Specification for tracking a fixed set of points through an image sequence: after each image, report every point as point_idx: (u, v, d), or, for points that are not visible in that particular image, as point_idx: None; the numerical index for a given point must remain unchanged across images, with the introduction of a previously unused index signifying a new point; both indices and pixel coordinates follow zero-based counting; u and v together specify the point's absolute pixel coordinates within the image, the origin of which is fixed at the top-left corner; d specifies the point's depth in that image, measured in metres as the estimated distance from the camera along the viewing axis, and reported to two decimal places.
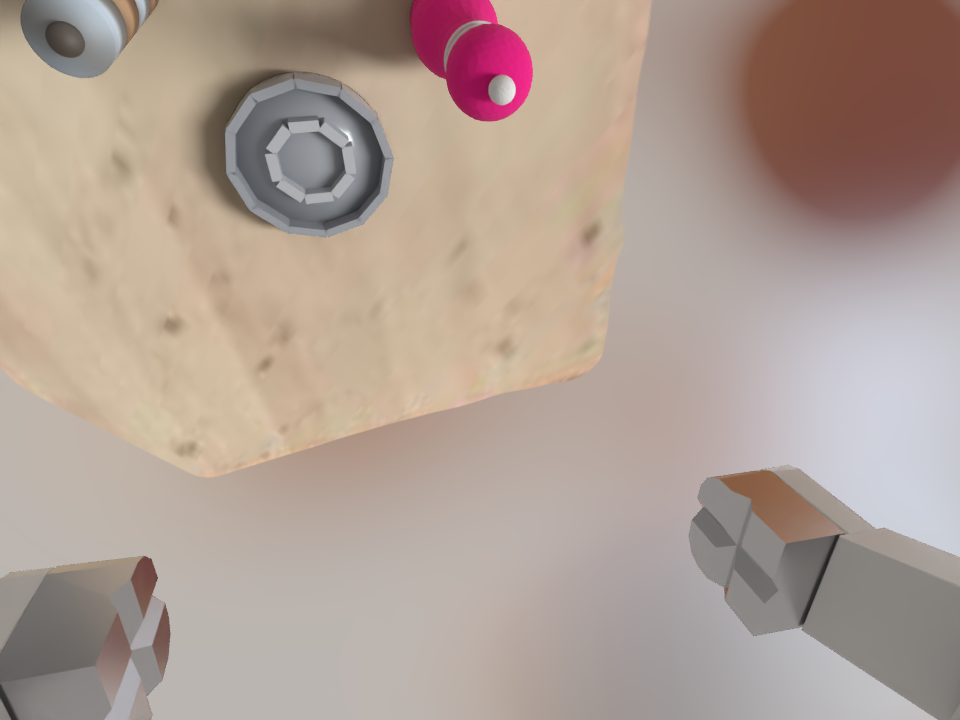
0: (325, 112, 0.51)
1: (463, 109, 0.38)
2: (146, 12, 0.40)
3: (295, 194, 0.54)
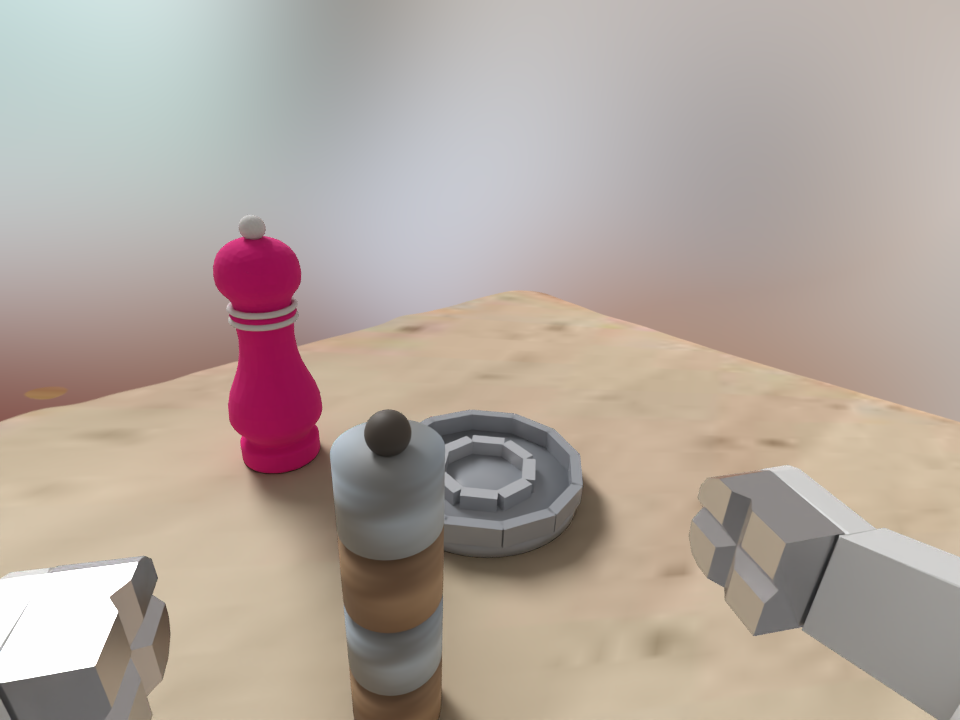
0: None
1: (291, 261, 0.40)
2: None
3: (529, 465, 0.43)
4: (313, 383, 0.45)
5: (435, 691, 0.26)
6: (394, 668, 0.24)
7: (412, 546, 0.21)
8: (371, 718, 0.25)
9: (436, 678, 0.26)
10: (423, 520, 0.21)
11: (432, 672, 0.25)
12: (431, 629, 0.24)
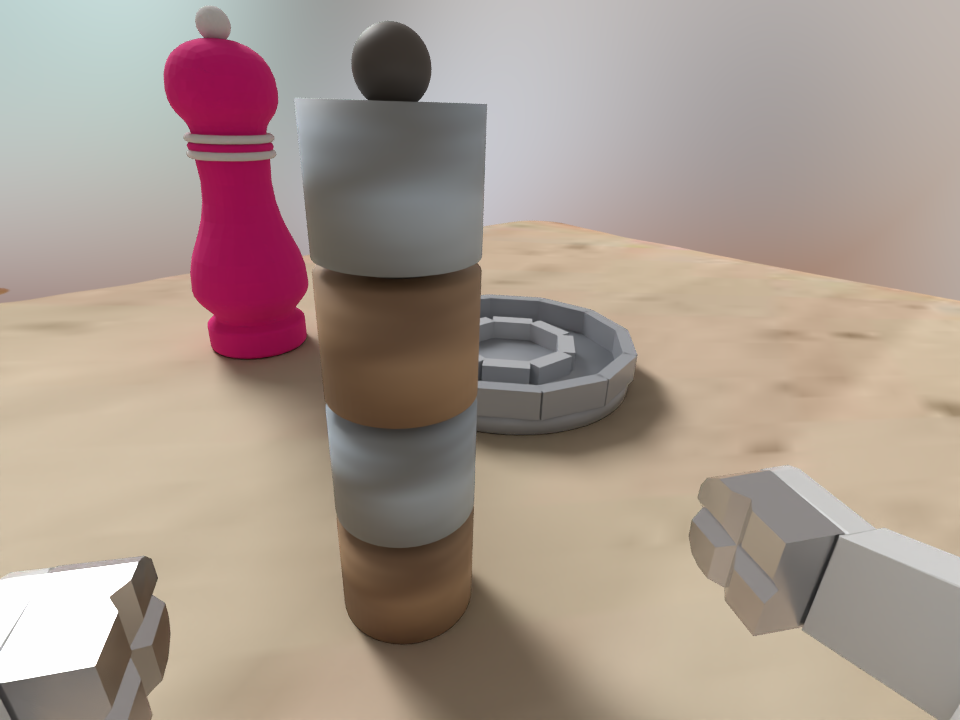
0: None
1: (264, 70, 0.31)
2: None
3: (566, 340, 0.35)
4: (296, 248, 0.36)
5: (465, 555, 0.18)
6: (405, 497, 0.15)
7: (435, 255, 0.13)
8: (371, 591, 0.17)
9: (467, 534, 0.17)
10: (453, 207, 0.12)
11: (461, 520, 0.17)
12: (462, 440, 0.15)
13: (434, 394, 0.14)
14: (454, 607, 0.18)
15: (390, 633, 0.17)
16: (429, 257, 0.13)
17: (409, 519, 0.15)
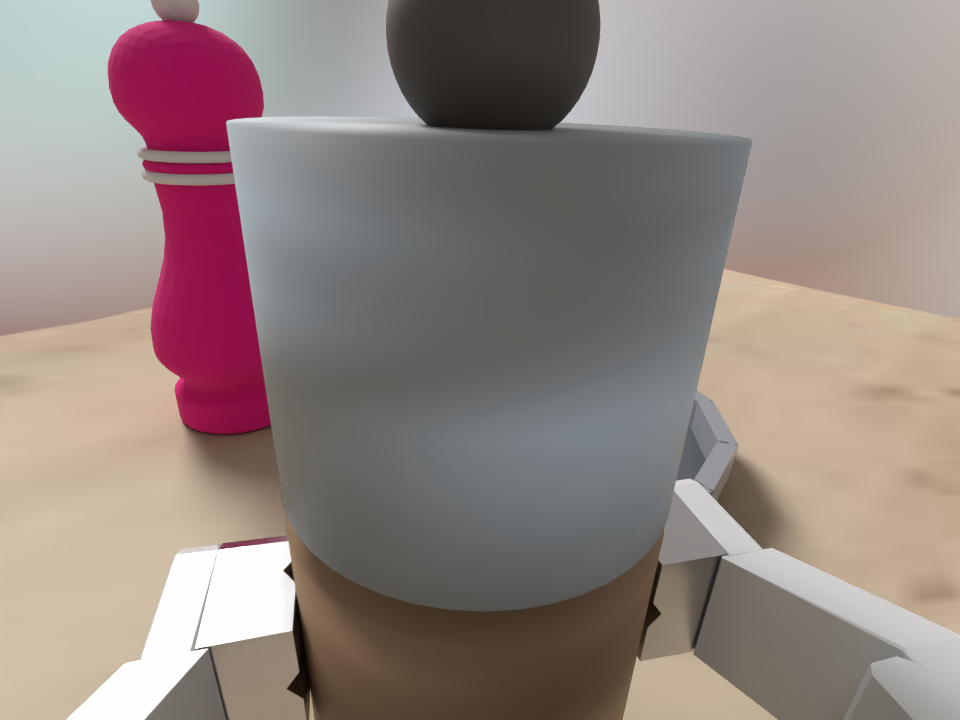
0: None
1: (244, 64, 0.23)
2: None
3: None
4: None
5: None
6: None
7: (609, 545, 0.05)
8: None
9: None
10: (666, 423, 0.04)
11: None
12: None
13: None
14: None
15: None
16: (595, 553, 0.05)
17: None
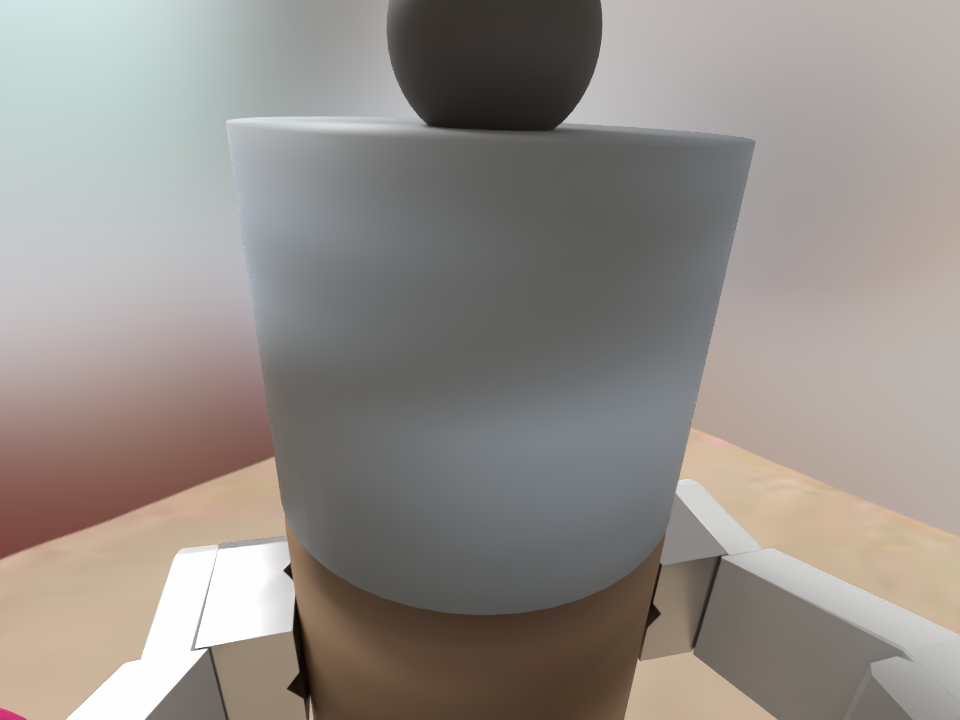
0: None
1: None
2: None
3: None
4: None
5: None
6: None
7: (611, 549, 0.05)
8: None
9: None
10: (668, 426, 0.04)
11: None
12: None
13: None
14: None
15: None
16: (597, 557, 0.05)
17: None
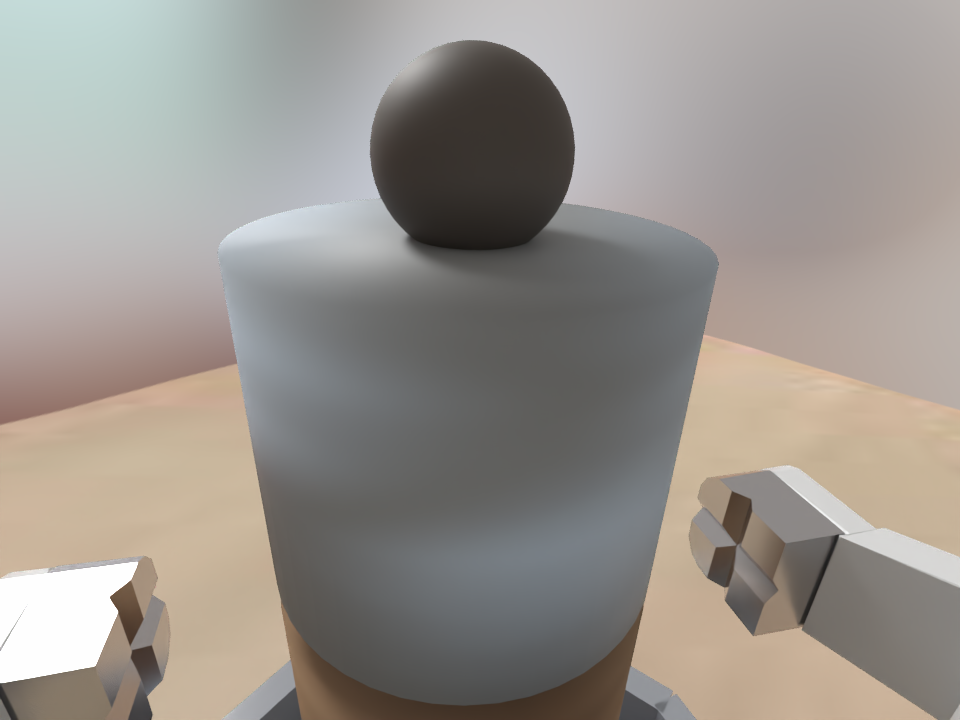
0: None
1: None
2: None
3: None
4: None
5: None
6: None
7: (585, 641, 0.05)
8: None
9: None
10: (638, 529, 0.05)
11: None
12: None
13: None
14: None
15: None
16: (572, 649, 0.05)
17: None
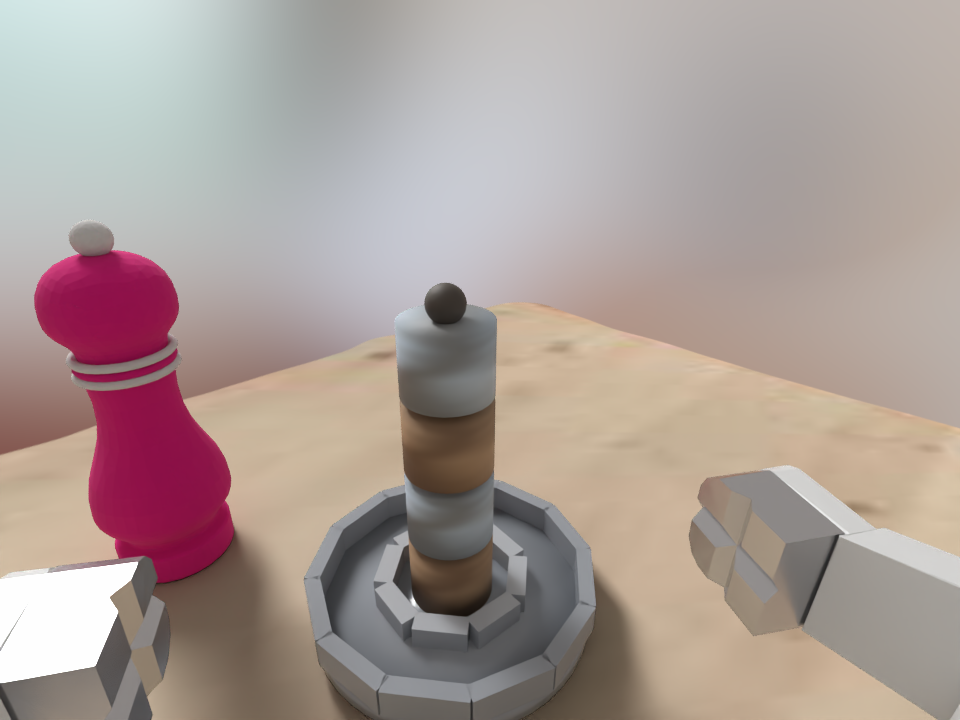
0: (366, 599, 0.30)
1: (153, 286, 0.27)
2: None
3: (518, 567, 0.30)
4: (212, 454, 0.32)
5: (488, 564, 0.28)
6: (453, 531, 0.26)
7: (470, 404, 0.23)
8: (431, 586, 0.28)
9: (489, 551, 0.28)
10: (480, 380, 0.23)
11: (485, 542, 0.28)
12: (485, 497, 0.26)
13: (470, 474, 0.25)
14: (482, 596, 0.29)
15: (443, 612, 0.28)
16: (467, 406, 0.23)
17: (455, 543, 0.26)
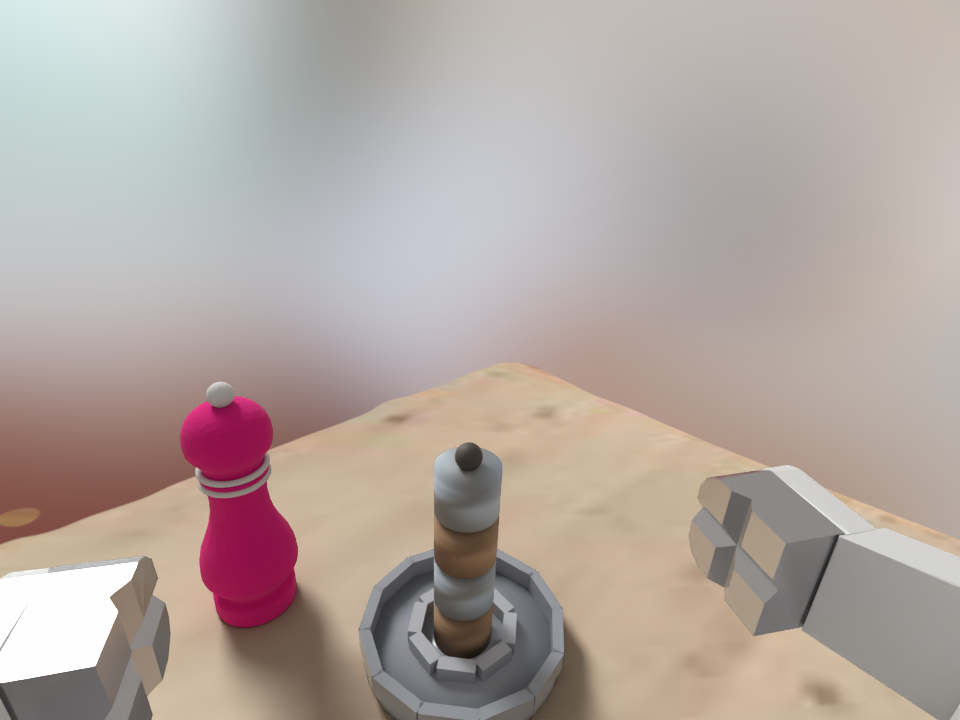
0: (401, 643, 0.41)
1: (261, 427, 0.38)
2: None
3: (510, 622, 0.42)
4: (288, 532, 0.44)
5: (489, 621, 0.40)
6: (467, 602, 0.38)
7: (483, 524, 0.35)
8: (450, 637, 0.40)
9: (490, 612, 0.40)
10: (490, 508, 0.35)
11: (488, 607, 0.40)
12: (490, 578, 0.38)
13: (481, 566, 0.37)
14: (484, 643, 0.41)
15: (457, 655, 0.40)
16: (481, 525, 0.35)
17: (468, 610, 0.38)
